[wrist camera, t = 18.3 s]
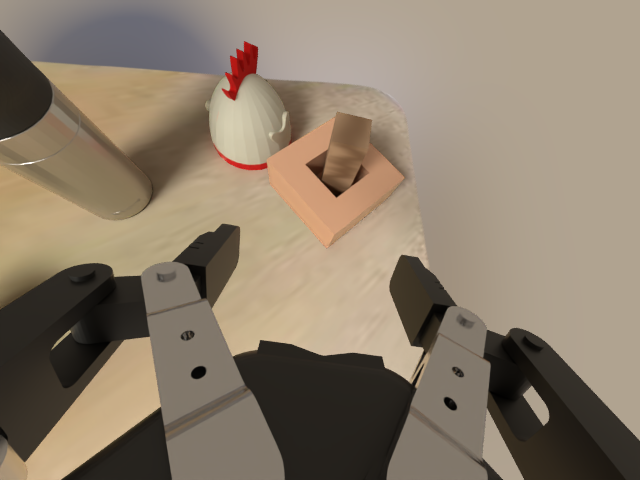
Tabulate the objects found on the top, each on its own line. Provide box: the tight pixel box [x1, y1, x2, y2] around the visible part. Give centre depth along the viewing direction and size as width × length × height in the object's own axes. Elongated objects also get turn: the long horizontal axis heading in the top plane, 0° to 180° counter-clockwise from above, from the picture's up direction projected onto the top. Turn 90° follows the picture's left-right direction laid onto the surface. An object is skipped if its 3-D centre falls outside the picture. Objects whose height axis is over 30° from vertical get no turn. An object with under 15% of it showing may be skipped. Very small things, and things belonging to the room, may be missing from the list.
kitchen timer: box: [205, 41, 291, 170], centre depth 37 cm, size 14×14×15 cm
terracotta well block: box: [267, 116, 405, 248], centre depth 39 cm, size 15×15×7 cm
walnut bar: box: [321, 112, 372, 198], centre depth 35 cm, size 4×4×14 cm
